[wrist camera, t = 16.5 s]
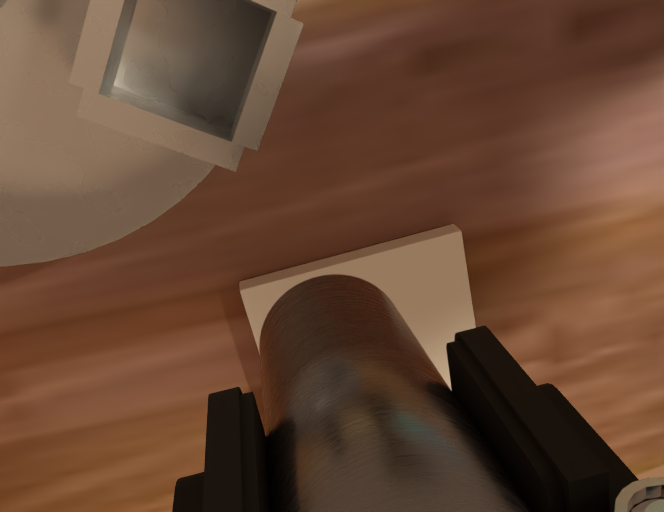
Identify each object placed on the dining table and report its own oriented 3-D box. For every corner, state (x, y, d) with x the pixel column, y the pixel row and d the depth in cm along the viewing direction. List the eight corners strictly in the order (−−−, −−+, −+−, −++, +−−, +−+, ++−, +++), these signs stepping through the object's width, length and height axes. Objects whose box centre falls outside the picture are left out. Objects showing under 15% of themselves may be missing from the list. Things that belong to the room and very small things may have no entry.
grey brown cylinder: (384, 256, 15) (652, 592, 5) (417, 383, 16) (686, 855, 6) (240, 299, 14) (237, 735, 5) (283, 425, 15) (348, 980, 6)
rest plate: (453, 223, 33) (461, 230, 32) (480, 401, 38) (488, 412, 37) (239, 281, 32) (239, 290, 31) (293, 456, 37) (295, 469, 36)
